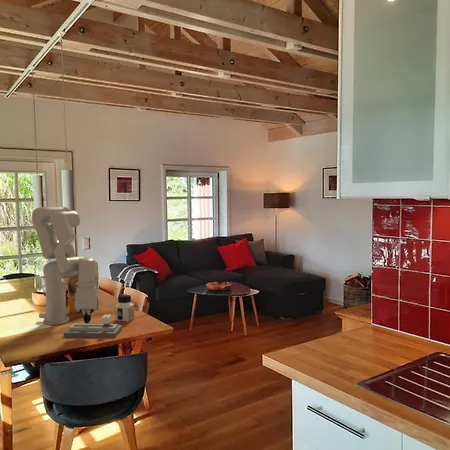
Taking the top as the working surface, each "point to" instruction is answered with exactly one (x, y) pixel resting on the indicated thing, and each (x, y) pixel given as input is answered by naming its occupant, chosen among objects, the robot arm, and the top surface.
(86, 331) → the console
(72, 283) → the pancake mix bag
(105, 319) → the fader
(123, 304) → the container
